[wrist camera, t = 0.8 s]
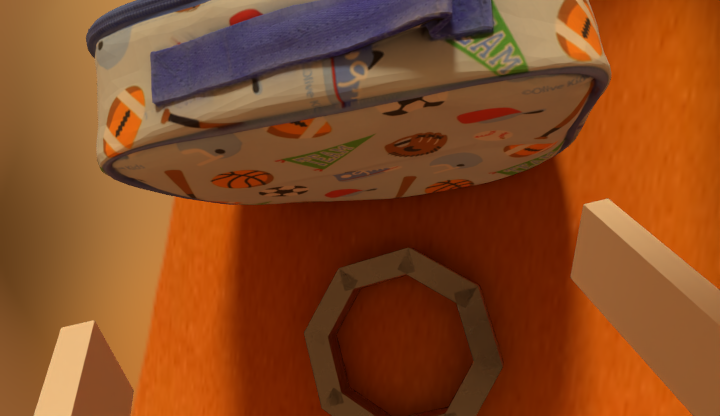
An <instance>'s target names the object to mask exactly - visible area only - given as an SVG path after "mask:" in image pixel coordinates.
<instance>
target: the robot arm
mask: <svg viewBox="0 0 720 416" xmlns="http://www.w3.org/2000/svg"><path fill="white" fill-rule="evenodd" d="M570 278H571V279H572V280H573V281H574V282H575V283H576V285H577V286H578V287H579V288H580V289H581V290H582V291H583V292H584V294H585V295H586V296H587V297H588V298H589V299H590V300H591V301H592V303H593V304H594V305H595V306H596V307H597V308H598V309H599V310H600V312H601V313H602V314H603V315H604V316H605V317H606V318H607V319H608V321H609V322H610V323H611V324H612V325H613V326H614V327H615V328H616V330H617V331H618V332H619V333H620V334H621V335H622V336H623V337H624V338H625V340H626V341H627V342H628V343H629V344H630V345H631V346H632V347H633V349H634V350H635V351H636V352H637V353H638V354H639V355H640V356H641V358H642V359H643V360H644V361H645V362H646V363H647V364H648V365H649V367H650V368H651V369H652V370H653V371H654V372H655V373H656V374H657V376H658V377H659V378H660V379H661V380H662V381H663V382H664V383H665V385H666V386H667V387H668V388H669V389H670V390H671V391H672V392H673V394H674V395H675V396H676V397H677V398H678V399H679V400H680V401H681V403H682V404H683V405H684V406H685V407H686V408H687V409H688V410H689V411H690V413H691V414H692V415H693V416H720V290H719V289H718V288H716V287H715V286H714V285H713V284H712V283H710V282H709V281H708V280H707V279H705V278H704V277H703V276H702V275H701V274H699V273H698V272H697V271H696V270H695V269H693V268H692V267H691V266H690V265H688V264H687V263H686V262H685V261H684V260H682V259H681V258H680V257H679V256H677V255H676V254H675V253H674V252H673V251H671V250H670V249H669V248H668V247H666V246H665V245H664V244H663V243H662V242H660V241H659V240H658V239H657V238H656V237H654V236H653V235H652V234H651V233H649V232H648V231H647V230H646V229H645V228H643V227H642V226H641V225H640V224H638V223H637V222H636V221H635V220H634V219H632V218H631V217H630V216H629V215H628V214H626V213H625V212H624V211H623V210H621V209H620V208H619V207H618V206H617V205H615V204H614V203H613V202H612V201H610V200H609V199H604V200H600V201H596V202H591V203H587V204H584V205H583V210H582V216H581V221H580V227H579V232H578V238H577V243H576V249H575V254H574V260H573V266H572V271H571V277H570ZM133 392H134V390H133V389H132V387H131V385H130V383H129V381H128V380H127V378H126V376H125V374H124V372H123V370H122V369H121V367H120V365H119V363H118V361H117V360H116V358H115V356H114V354H113V353H112V351H111V349H110V347H109V345H108V344H107V342H106V340H105V338H104V336H103V335H102V333H101V331H100V329H99V327H98V325H97V324H96V322H95V321H94V320H93V321H89V322H85V323H81V324H76V325H72V326H68V327H64V328H61V331H60V334H59V337H58V340H57V343H56V347H55V350H54V353H53V356H52V360H51V363H50V366H49V369H48V372H47V375H46V379H45V382H44V385H43V388H42V391H41V394H40V398H39V401H38V404H37V407H36V411H35V414H34V416H130V414H131V406H132V399H133Z"/></svg>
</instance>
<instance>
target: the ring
mask: <svg viewBox="0 0 720 416" xmlns="http://www.w3.org/2000/svg"><path fill="white" fill-rule="evenodd" d="M406 275H408V276H410V277H412V278H414V279H415V280H417V281H419V282H421V283H422V284H424V285H426V286H428V287H429V288H431V289H433V290H435V291H436V292H438V293H440V294H441V295H443V296H445V297H447V298H448V299H450V300H452V301H454V302H455V303H456V304H457V307H458V310H459V314H460V317H461V320H462V324H463V327H464V331H465V334H466V337H467V341H468V344H469V347H470V351H471V354H472V357H473V361H474V362H473V364H472V365H471V367H470V369H469V371H468V373H467V375H466V376H465V378H464V380H463V382H462V384H461V385H460V387H459V389H458V391H457V393H456V395H455V396H454V398H453V400H452V402H451V404H450V405H449V407H446V408H441V409H437V410H432V411H428V412H423V413H418V414H414V415H409V416H476V415H477V413H478V411H479V409H480V408H481V406H482V404H483V402H484V400H485V399H486V397H487V395H488V393H489V391H490V390H491V388H492V386H493V384H494V382H495V380H496V379H497V377H498V375H499V373H500V371H501V370H502V368H503V359H502V356H501V352H500V349H499V346H498V343H497V339H496V336H495V333H494V330H493V326H492V323H491V320H490V317H489V314H488V310H487V307H486V304H485V301H484V297H483V294H482V291H481V288H480V285H478V284H476V283H475V282H473V281H471V280H469V279H467V278H466V277H464V276H462V275H460V274H458V273H457V272H455V271H453V270H451V269H449V268H448V267H446V266H444V265H442V264H440V263H439V262H437V261H435V260H433V259H431V258H430V257H428V256H426V255H424V254H422V253H421V252H419V251H417V250H415V249H413V248H405V249H402V250H398V251H395V252H392V253H388V254H385V255H382V256H378V257H375V258H372V259H368V260H365V261H361V262H358V263H355V264H351V265H348V266H345V267H341V268H338V270H337V272H336V274H335V276H334V278H333V280H332V282H331V283H330V285H329V287H328V289H327V291H326V293H325V295H324V296H323V298H322V300H321V302H320V304H319V306H318V308H317V309H316V311H315V313H314V315H313V317H312V319H311V321H310V322H309V324H308V326H307V328H306V330H305V332H304V336H305V340H306V344H307V348H308V353H309V357H310V361H311V365H312V369H313V374H314V378H315V382H316V386H317V391H318V395H319V399H320V403H321V408H322V409H323V410H325V411H326V412H328V413H329V414H330V415H332V416H391V415H390V414H388V413H387V412H385V411H384V410H382V409H381V408H379V407H378V406H376V405H375V404H373V403H372V402H370V401H369V400H368V399H366V398H365V397H363V396H362V395H360V394H359V393H357V392H356V391H354V390H353V389H351V388H350V387H349V383H348V379H347V375H346V371H345V367H344V363H343V359H342V355H341V351H340V347H339V343H338V339H337V335H336V334H337V332H338V330H339V328H340V326H341V325H342V323H343V321H344V319H345V317H346V315H347V313H348V312H349V310H350V308H351V306H352V304H353V302H354V300H355V299H356V297H357V295H358V293H359V291H360V289H361V288H363V287H367V286H370V285H374V284H377V283H381V282H384V281H388V280H391V279H395V278H398V277H402V276H406Z"/></svg>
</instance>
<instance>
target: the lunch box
mask: <svg viewBox="0 0 720 416" xmlns="http://www.w3.org/2000/svg"><path fill="white" fill-rule="evenodd" d="M86 42H87V47H88V50H89V52H90V53H91V55H92V56H93V57H94V58H95V65H96V71H97V96H98V135H97V146H96V147H97V161H98V164H99V166H100V168H101V170H102V172H103V173H105V174H107V175H108V176H111V177H112V178H113V179H115V180H118V181H120V182H123V183H125V184H128V185H131V186H134V187H138V188H142V189H146V190H150V191H154V192H158V193H162V194H166V195H171V196H176V197H181V198H186V199H193V200H199V201H206V202H213V203H220V204H232V205H236V204H241V205H264V204H281V203H305V202H326V201H348V200H373V199H392V198H401V197H408V196H415V195H421V194H428V193H434V192H439V191H445V190H451V189H456V188H462V187H467V186H473V185H478V184H483V183H487V182H491V181H495V180H499V179H502V178H505V177H508V176H511V175H514V174H517V173H520V172H523V171H525V170H528V169H530V168H533V167H535V166H537V165H539V164H541V163H542V162H544V161H546V160H548V159H550V158H552V157H553V156H555V155H557V154H558V153H560V152H561V151H563V150H564V149H565V148H567V147H568V146H569V145H570V144H571V143H572V142H573V141H574V140H575V139H576V137H577V135H578V134H579V132H580V131H581V129H582V127H583V125H584V123H585V121H586V119H587V117H588V115H589V113H590V111H591V110H592V108H593V106H594V105H595V103H596V102H597V100H598V99H599V97H600V96H601V95H602V94H603V93H604V91H605V90H606V88H607V86H608V85H609V83H610V80H611V69H610V65H609V63H608V60H607V58H606V56H605V54H604V51H603V48H602V44H601V41H600V35H599V31H598V26H597V23H596V20H595V17H594V14H593V11H592V8H591V6H590V3H589V0H136V1H133V2H131V3H127V4H125V5H123V6H120V7H118V8H116V9H114V10H112V11H110V12H108V13H106V14H105V15H103V16H101V17H100V18H99V19H97V20H96V21H95V22H94V24H93V25H92V26H91V28H90V29H89V30H88V33H87V36H86Z"/></svg>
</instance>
